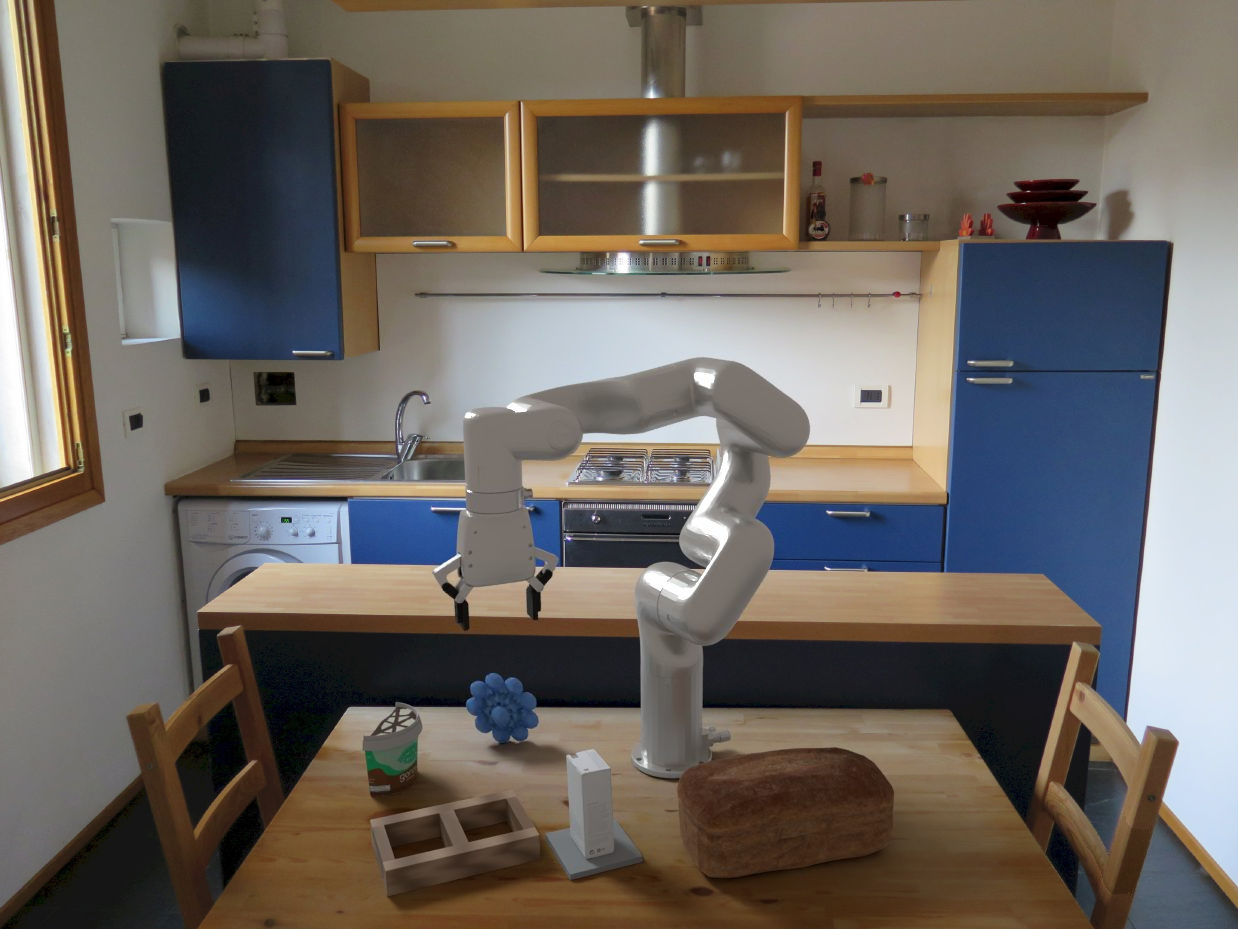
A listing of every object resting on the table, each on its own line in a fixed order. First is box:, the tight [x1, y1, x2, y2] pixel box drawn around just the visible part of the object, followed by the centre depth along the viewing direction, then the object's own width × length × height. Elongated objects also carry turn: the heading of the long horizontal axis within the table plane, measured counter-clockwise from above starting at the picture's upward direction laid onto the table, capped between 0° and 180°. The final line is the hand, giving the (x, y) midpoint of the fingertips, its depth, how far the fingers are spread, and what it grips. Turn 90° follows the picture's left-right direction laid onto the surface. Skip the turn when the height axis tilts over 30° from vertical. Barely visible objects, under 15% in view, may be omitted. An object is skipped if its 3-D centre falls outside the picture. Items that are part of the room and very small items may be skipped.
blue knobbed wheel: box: [465, 672, 540, 744], centre depth 160 cm, size 12×7×12 cm, turn 90°
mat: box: [544, 816, 644, 881], centre depth 133 cm, size 10×10×1 cm
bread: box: [676, 746, 895, 879], centre depth 132 cm, size 14×28×12 cm, turn 104°
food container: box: [362, 701, 423, 797], centre depth 150 cm, size 12×6×10 cm, turn 168°
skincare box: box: [565, 748, 614, 859], centre depth 131 cm, size 6×4×12 cm
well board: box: [369, 789, 541, 897], centre depth 132 cm, size 20×12×4 cm, turn 112°
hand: (498, 622), depth 137 cm, fingers open, 9 cm apart
